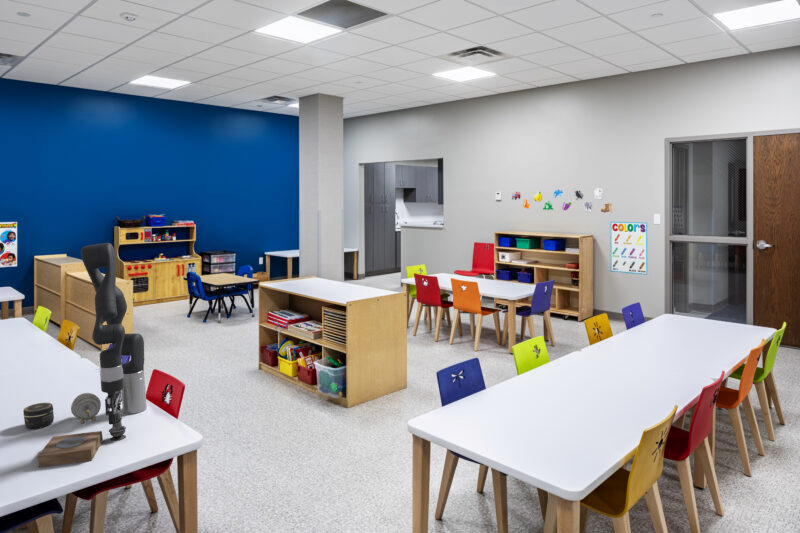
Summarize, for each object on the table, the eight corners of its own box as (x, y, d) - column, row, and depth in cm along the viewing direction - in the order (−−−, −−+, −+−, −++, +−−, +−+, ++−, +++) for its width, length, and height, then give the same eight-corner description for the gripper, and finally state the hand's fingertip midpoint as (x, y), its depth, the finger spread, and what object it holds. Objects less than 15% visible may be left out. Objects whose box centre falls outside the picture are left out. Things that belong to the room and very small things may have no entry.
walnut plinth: (53, 447, 198) (52, 435, 198) (102, 441, 203) (101, 430, 202) (38, 467, 183) (37, 455, 183) (91, 460, 188) (90, 448, 187)
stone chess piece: (110, 436, 207) (108, 405, 205) (127, 433, 209) (125, 403, 207) (108, 442, 201) (105, 411, 200) (125, 440, 203) (123, 409, 202)
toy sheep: (97, 411, 232) (95, 386, 231) (106, 423, 219) (104, 396, 218) (69, 417, 226) (66, 391, 224) (76, 430, 213) (73, 403, 211)
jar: (18, 428, 215) (16, 410, 215) (41, 418, 225) (40, 401, 224) (37, 431, 213) (35, 412, 212) (60, 421, 222) (58, 403, 221)
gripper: (105, 373, 208) (108, 414, 210) (95, 384, 194) (98, 428, 196) (127, 371, 210) (129, 411, 212) (118, 382, 196) (121, 425, 198)
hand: (115, 419), depth 204 cm, fingers open, 8 cm apart
